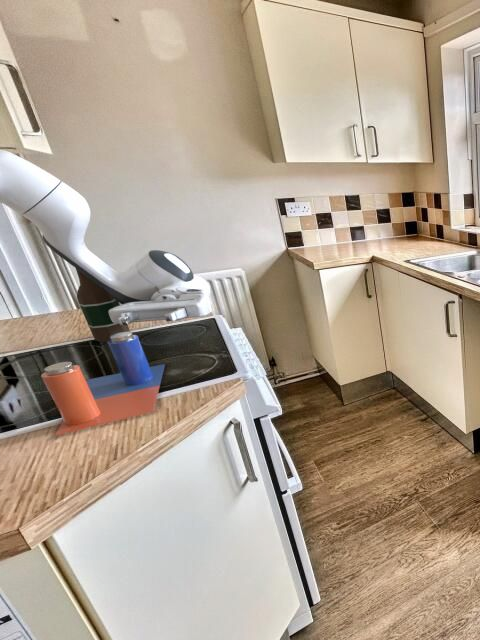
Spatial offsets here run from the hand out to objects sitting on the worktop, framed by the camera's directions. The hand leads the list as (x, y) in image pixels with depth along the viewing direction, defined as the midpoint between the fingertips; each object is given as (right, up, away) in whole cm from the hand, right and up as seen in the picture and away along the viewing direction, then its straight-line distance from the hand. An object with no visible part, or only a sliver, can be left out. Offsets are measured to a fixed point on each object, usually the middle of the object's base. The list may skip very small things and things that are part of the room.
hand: (145, 320), depth 100 cm
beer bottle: (-26, -4, +20) cm, 33 cm away
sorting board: (+4, -17, -12) cm, 21 cm away
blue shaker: (+4, -14, -6) cm, 16 cm away
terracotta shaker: (+6, -20, -20) cm, 29 cm away
